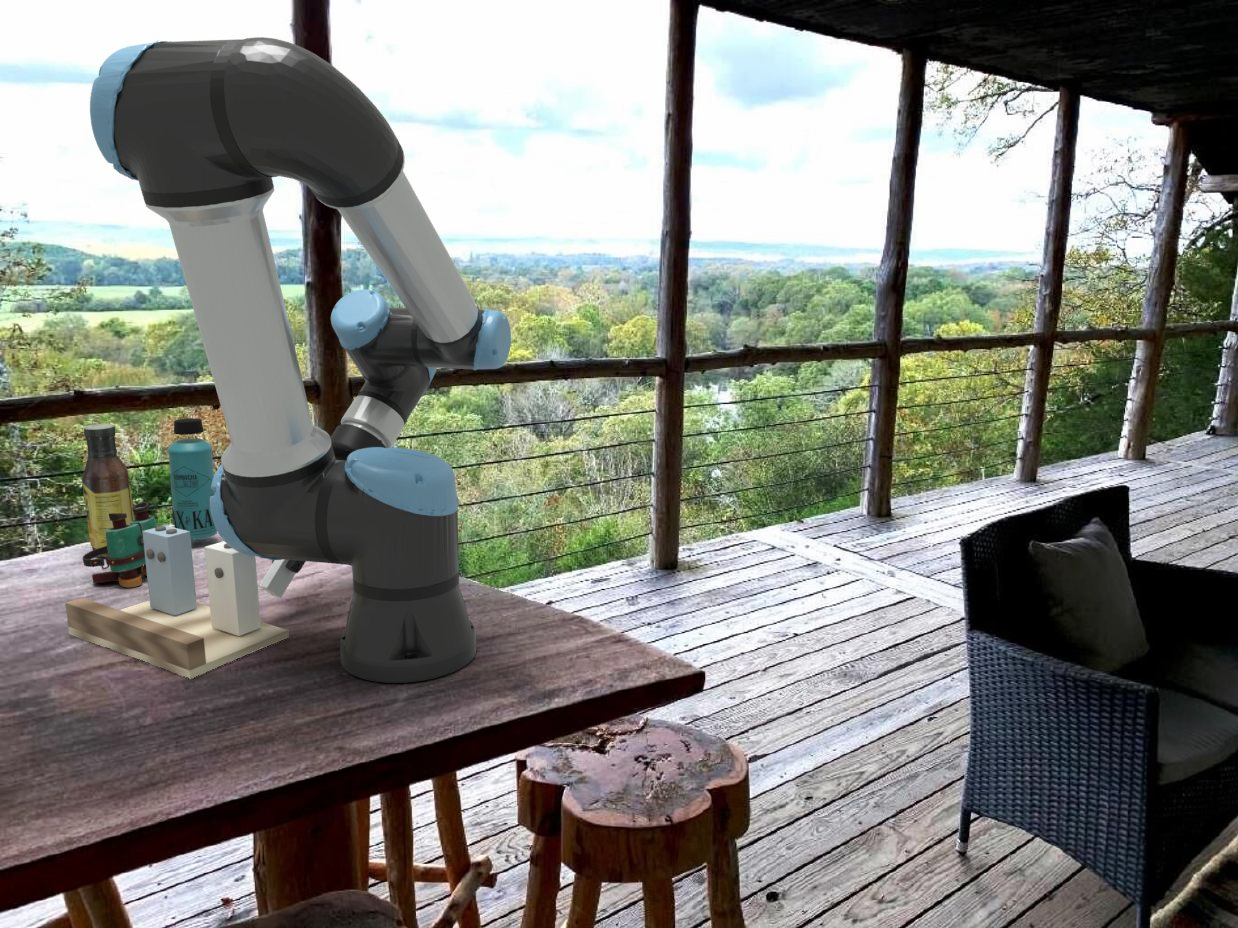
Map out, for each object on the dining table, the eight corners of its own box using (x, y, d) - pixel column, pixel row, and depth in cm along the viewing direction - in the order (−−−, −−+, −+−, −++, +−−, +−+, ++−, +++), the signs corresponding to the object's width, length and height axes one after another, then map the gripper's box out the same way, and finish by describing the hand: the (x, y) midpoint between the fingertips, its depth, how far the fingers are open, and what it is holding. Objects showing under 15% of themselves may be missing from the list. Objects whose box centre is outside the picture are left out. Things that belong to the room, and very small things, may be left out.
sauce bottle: (104, 546, 142) (89, 421, 138) (145, 546, 143) (132, 421, 138) (82, 560, 136) (66, 429, 132) (125, 559, 136) (111, 429, 132)
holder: (288, 638, 109) (286, 606, 108) (190, 679, 98) (187, 644, 97) (169, 601, 120) (166, 572, 119) (69, 634, 109) (65, 602, 108)
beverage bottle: (176, 539, 146) (164, 416, 142) (221, 535, 149) (210, 414, 145) (174, 551, 140) (161, 423, 136) (221, 546, 143) (210, 421, 139)
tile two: (197, 607, 114) (189, 529, 112) (172, 616, 112) (164, 535, 109) (172, 600, 117) (164, 523, 115) (148, 608, 114) (139, 529, 112)
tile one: (260, 627, 108) (254, 544, 106) (237, 636, 106) (229, 552, 104) (233, 619, 111) (226, 538, 109) (209, 628, 108) (201, 545, 106)
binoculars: (105, 501, 132) (165, 499, 129) (119, 571, 134) (178, 570, 131) (56, 517, 123) (119, 515, 121) (72, 592, 125) (134, 591, 123)
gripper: (414, 459, 122) (324, 615, 112) (345, 449, 129) (254, 595, 118) (384, 426, 117) (286, 587, 106) (313, 416, 123) (215, 568, 113)
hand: (269, 591), depth 112 cm, fingers closed
